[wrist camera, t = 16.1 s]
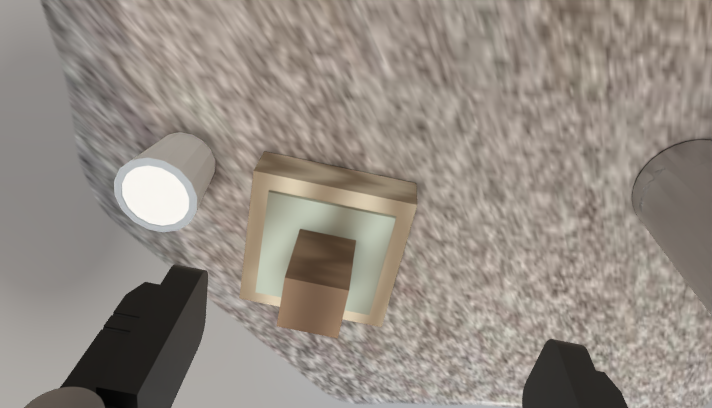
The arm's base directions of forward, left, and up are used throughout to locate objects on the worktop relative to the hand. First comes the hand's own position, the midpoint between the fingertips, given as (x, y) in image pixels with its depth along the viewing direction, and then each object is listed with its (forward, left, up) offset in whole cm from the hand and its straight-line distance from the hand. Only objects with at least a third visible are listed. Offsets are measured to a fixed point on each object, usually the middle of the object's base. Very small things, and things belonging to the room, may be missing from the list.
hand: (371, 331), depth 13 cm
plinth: (+2, +20, -34) cm, 39 cm away
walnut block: (+2, +20, -30) cm, 36 cm away
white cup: (+16, +15, -34) cm, 41 cm away
